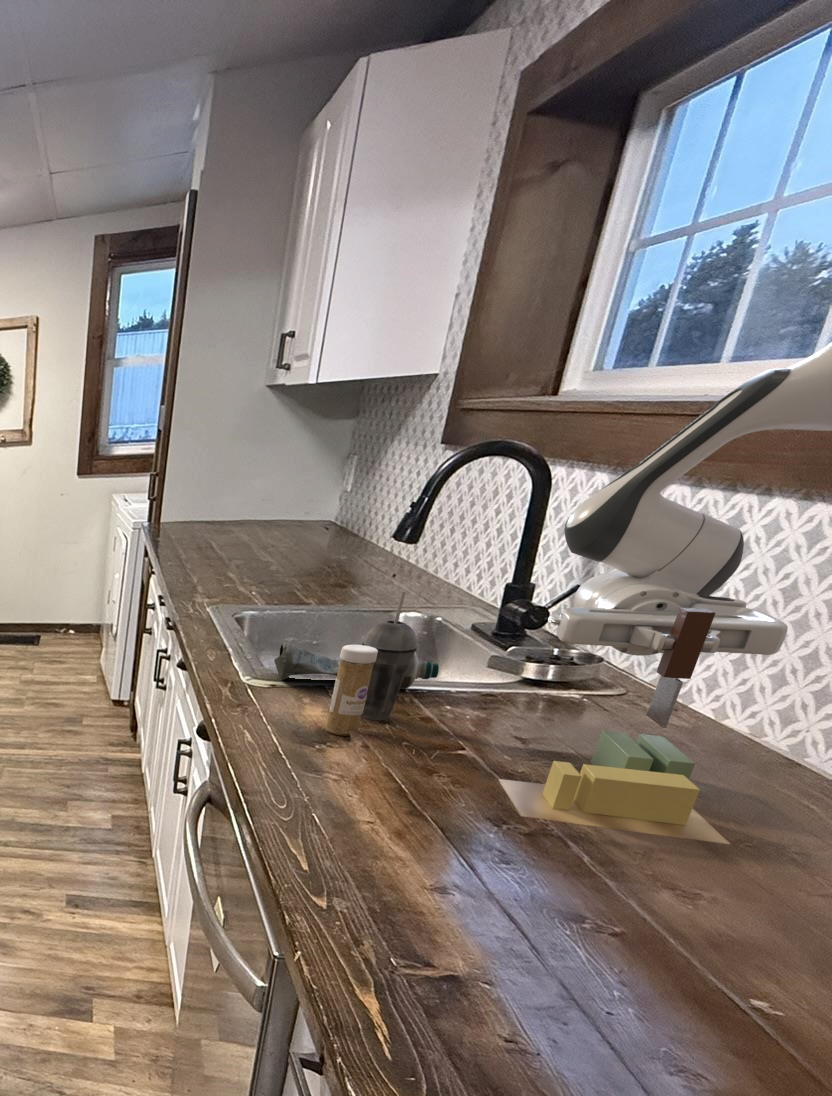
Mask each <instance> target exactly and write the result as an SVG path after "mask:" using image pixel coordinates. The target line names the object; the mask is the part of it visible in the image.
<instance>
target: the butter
mask: <svg viewBox="0 0 832 1096" xmlns="http://www.w3.org/2000/svg"><path fill="white" fill-rule="evenodd" d="M579 774H580V775H581V776H582V777H581V780H580V782H579V785H578V788H577V791H576V794H575V797H574V799H573V800H574V801H575V803H576V804H577V805H578V807H579V808H580V809H581V810H582V812H584V813H592V814H600V815H608V816H615V817H623V818H631V819H639V820H647V821H654V822H662V823H670V824H678V825H686V823H687V820H688V818H689V816H690V813H691V811H692V808H693V809H694V806H695V803H696V801H697V799H698V796H699V794H700V791H701V789H700V788H699V787H698V786H696V784H694V782H693V781H691V780H690V778H689V779H688V778H686V777H685V776H684V775H678V774H669V773H660V772H651V771H642V770H632V769H623V768H614V767H605V766H596V765H593V764H586V763H583V764H582V766H581V770H580V772H579Z"/></svg>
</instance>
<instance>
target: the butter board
mask: <svg viewBox="0 0 832 1096" xmlns="http://www.w3.org/2000/svg"><path fill="white" fill-rule="evenodd" d="M497 780H498V782H499V783H500V785H501V787H502V788H503V790H504V792H505V793H506V795H507V796H508V798H509V800H510V801H511V803H512V804H513V806H514V807H515V809H516V811H517V812H518V814H519V815H520V817H522V818H529V819H537V820H542V821H543V820H545V821H552V822H559V823H566V824H572V825H573V824H574V825H582V826H588V827H597V828H605V829H612V830H620V831H627V832H634V833H642V834H648V835H657V836H662V837H663V836H664V837H671V838H672V837H673V838H677V839H678V838H679V839H687V840H693V841H701V842H707V843H708V842H709V843H717V844H724V845H731V843H730V842H729V841H728V839H726V838H725V837H724V836H723V835H722V834H721V833H720V832H719V831H717V830H716V829H715V828H714V827H713V826H712V825H711V824H710V822H708V821H707V820H706V819H705V818H703V817H702V816H701V815H700V814H699V813H698V812H697V811H696V810H695V809H694V807H693V808H692V811H691V813H690V816H689V818H688V820H687V823H686V825H678V824H670V823H662V822H654V821H647V820H639V819H631V818H623V817H615V816H608V815H600V814H592V813H584V812H582V810H581V809H580V808H579V807H578V805H577V804H576V803H575V801H574V800H573V802H572V805H571V808H570V810H569V811H568V810H561V809H553V808H552V807H551V806H550V804H549V803H548V801H547V800H546V799H545V797H544V796H543V794H542V793H543V790H544V787H545V785H546V783H537V782H529V781H528V782H527V781H521V780H511V779H505V778H497Z"/></svg>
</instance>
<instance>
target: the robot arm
mask: <svg viewBox="0 0 832 1096" xmlns="http://www.w3.org/2000/svg"><path fill="white" fill-rule="evenodd" d="M769 430H770V431H771V430H797V431H798V430H799V431H800V430H801V431H818V432H819V431H822V432H823V431H824V432H832V341H831V342H829V344H827V345H826V346H825V347H823V348H822V349H820V350H819V351H816V352H815V353H814V354H812V355H810V356H809V357H807V358H805V359H803V360H801V361H799V362H796V363H795V364H792V365H790V366H787V367H780V368H771V369H767V370H764V371H762V372H761V373H759V374H757V375H755V376H753V377H751V378H750V379H748V380H747V381H745V382H743V383H742V384H741V385H739V386H737V387H736V388H734V389H733V390H731V392H730V391H729V393H728V394H726V395H724V397H722V398H721V399H719V400H718V401H716V402H715V403H714V404H712V405H711V406H710V407H709V408H707V409H706V410H704V411H703V412H702V413H701V414H699V415H698V416H697V417H695V418H694V419H692V421H690V422H689V423H688V424H686V425H685V426H684V427H683V428H681V429H680V430H679V431H677V432H676V433H675V434H674V435H672V436H671V437H670V438H669V439H667V440H666V441H665V442H663V443H662V444H660V445H659V446H658V447H657V448H655V449H654V450H653V451H651V452H649V454H648V455H646V456H645V457H644V458H642V459H641V460H639V462H638V463H636V464H635V465H634V466H632V467H631V468H630V469H628V470H626V471H625V472H624V473H623V474H621V475H620V476H618V477H617V478H615V479H613V480H612V481H611V482H609V483H607V484H606V485H605V486H603V487H601V488H600V489H599V490H597V491H596V492H595V493H593V494H592V495H591V496H589V497H588V498H586V499H585V500H584V501H583V502H582V503H580V504H579V505H578V506H577V507H576V508H575V509H574V510H573V511H572V513H571V514H570V515H569V517H567V519H566V521H565V523H564V525H563V527H564V528H563V529H564V530H563V531H564V538H565V542H566V546H567V547H568V549H569V551H570V553H572V554H573V555H577V556H580V557H583V558H586V559H589V560H591V561H594V562H597V563H602V564H605V565H606V566H608V567H610V568H613V569H615V570H613V571H608V572H604V573H599V574H596V575H595V576H592V577H590V578H588V579H587V580H585V581H584V582H582V584H581V585H580V586H579V587H578V589H577V590H576V592H575V594H574V597H573V601H572V607H567V608H565V609H563V611H562V613H559V614H549V616H547V622H548V623H549V624H551V625H554V626H557V630H556V635H557V638H558V639H559V640H560V641H561V642H562V643H565V644H571V645H583V646H601V647H602V646H604V647H612V648H613V649H615V650H616V651H618V652H620V653H622V654H626V655H629V656H630V655H631V656H638V657H639V656H640V657H641V656H642V657H643V656H645V657H646V656H653V655H658V654H663V652H664V650H670V651H671V650H672V649H673V647H674V645H673V644H674V643H675V642H676V636H674V635H673V634H670V633H671V630H672V627H673V625H674V622H675V619H676V616H677V614H678V611H679V608H705V609H709V610H711V611H713V612H715V616H714V619H713V621H712V624H711V626H710V629H709V632H708V634H707V637H706V640H705V642H704V645H703V647H702V650H701V653H704V654H705V653H707V654H715V653H728V654H744V655H745V654H746V655H761V656H771V655H774V654H777V653H779V651H780V650H781V648H782V646H783V644H784V642H785V639H786V636H787V634H788V628H789V627H788V625H787V624H786V623H785V622H784V621H782V620H780V619H779V618H776V617H774V616H772V615H770V614H767V613H765V612H763V611H760V610H757V609H753V608H748V607H747V602H746V600H745V601H744V600H742V599H737V598H730V597H722V596H715V595H714V596H712V595H713V594H714V593H715V592H716V591H717V590H719V589H720V588H721V587H722V586H724V584H725V583H727V582H728V580H729V579H730V578H731V577H732V576H733V575H734V574H735V573H736V571H737V570H738V568H739V567H740V565H741V562H742V559H743V554H744V547H745V540H744V535H743V532H742V530H741V529H740V528H738V527H735V526H732V525H731V524H728V523H726V522H725V521H722V520H719V519H717V518H715V517H713V516H710V515H708V514H705V513H703V512H699V511H696V510H694V509H692V508H689V507H687V506H685V505H683V504H681V503H678V502H676V501H674V500H672V499H668V498H666V497H665V496H663V494H661V493H662V491H664V490H665V489H666V488H667V487H669V486H670V485H672V484H673V483H675V482H676V481H677V480H678V479H680V478H681V477H682V476H684V475H685V474H686V473H688V472H689V471H690V470H692V469H693V468H694V467H696V466H697V465H699V464H700V463H701V462H703V461H704V460H705V459H707V458H708V457H709V456H711V455H712V454H713V453H715V452H716V451H718V450H719V449H720V448H722V447H723V446H725V445H726V444H727V443H729V442H731V441H733V440H734V439H737V438H739V437H741V436H744V435H748V434H751V433H755V432H761V431H769Z"/></svg>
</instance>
